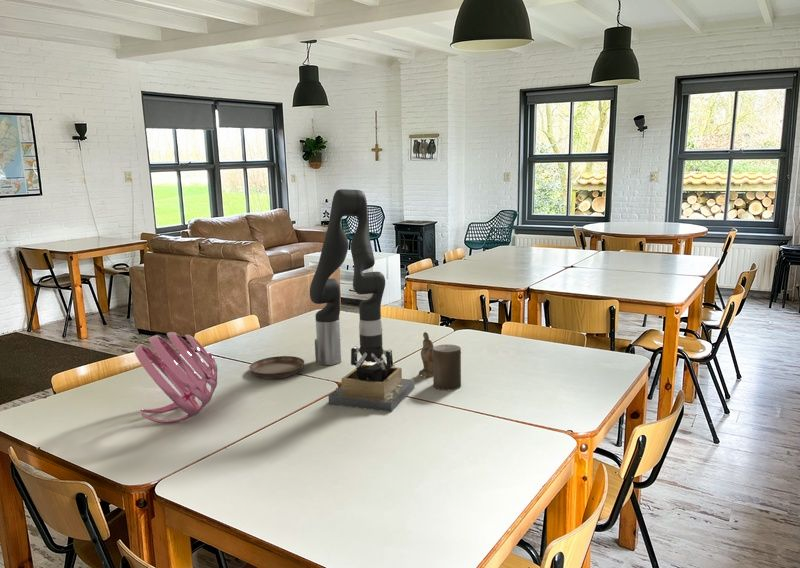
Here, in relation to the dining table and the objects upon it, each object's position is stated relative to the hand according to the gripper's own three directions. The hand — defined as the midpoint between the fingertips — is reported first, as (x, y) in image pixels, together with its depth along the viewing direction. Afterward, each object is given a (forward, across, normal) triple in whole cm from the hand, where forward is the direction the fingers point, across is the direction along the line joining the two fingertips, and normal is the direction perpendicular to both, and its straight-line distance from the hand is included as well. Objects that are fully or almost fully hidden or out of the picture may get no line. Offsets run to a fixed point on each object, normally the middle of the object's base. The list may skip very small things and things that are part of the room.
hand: (372, 378), depth 212 cm
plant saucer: (+7, -45, +13) cm, 47 cm away
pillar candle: (+6, +21, +17) cm, 28 cm away
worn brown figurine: (+6, +12, +29) cm, 32 cm away
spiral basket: (+6, -52, -33) cm, 62 cm away
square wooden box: (+6, 0, 0) cm, 6 cm away
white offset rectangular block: (+7, -6, +20) cm, 22 cm away
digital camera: (+3, 0, 0) cm, 3 cm away
